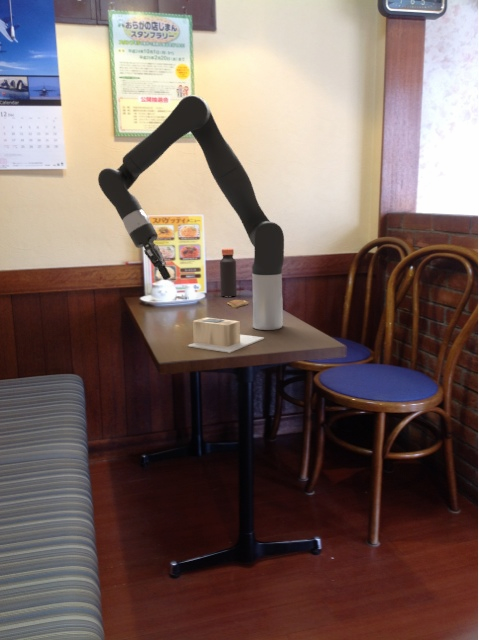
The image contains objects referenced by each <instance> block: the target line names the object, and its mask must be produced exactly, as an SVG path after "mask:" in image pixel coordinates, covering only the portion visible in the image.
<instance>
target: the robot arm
mask: <svg viewBox="0 0 479 640" xmlns="http://www.w3.org/2000/svg"><path fill="white" fill-rule="evenodd" d="M189 133H191V135H192V136H193V138H195V140H196V142H197V143H198V145H199V146H200V149H201V151H202V153H203V155H204V158H205V161H206V163H207V166H208V168H209V171H210V173H211V175H212V177H213V179H214V180H215V182H216V184H217V185H218V188H219V189H220V191H221V192H222V194H223V195H224V197H225V198H226V199H227V200H226V201H228V203H229V204H230V206H231V207H232V209H233V210H234V212H235V213H236V214H237V216H238V218H239V220H240V222H241V223H242V225H243V227H244V231H246V234H247V237H248V239H249V241H250V243H251V244H252V246H253V248H254V254H253V255H254V260H253V264H252V265H251V266H252V268H251V272H252V276H251V277H252V279H251V280H252V328H254V329H256V330H259V331H260V330H262V331H271V330H273V331H274V330H279V329H281V328H283V324H284V319H283V317H284V316H283V315H284V314H283V313H284V311H283V307H284V306H283V301H284V300H283V298H284V296H283V287H282V286H283V284H282V283H283V281H282V280H283V277H282V275H283V265H284V260H285V259H284V257H285V255H284V254H285V251H284V250H285V237H284V236H285V235H284V232H283V231H284V230H283V229H282V227H281V226H280V225H279V224H278V223H276V222H273V221H270V220H269V218H268V216H266V214H265V212H264V211H263V209H262V207H261V205H260V204H259V202H258V200H257V196H256V193H255V190H254V187H253V183H252V182H251V179H250V177H249V174H248V173H247V172H246V170H245V167H244V166H243V165H242V163H241V161H240V159H239V158H238V156H237V155H236V153H235V152H234V151H233V149H232V148H231V146H230V144H229V143H228V142H227V140H226V139H225V137H224V136H223V135H222V132H221V130H220V129H219V127H218V125H217V123H216V121H215V119H214V116H213V114H212V112H211V109H210V106H209V104H208V103H207V101H206V100H205V99H204V98H202V97H201V96H198V95H186V96H184V97H183V98H182V99H180V100H179V102H178V104H176V106H175V107H174V108H173V110H172V111H171V112H170V113H169V115H168V116H167V117H166V118H165V119H164V121H163V122H162V123H160V125H158V127H157V128H156V129H154V130H153V131H152V132H151V133H149V135H147V136H146V137H145V138H143V139H142V140H141V141H139V143H137V144H136V145H134V146H133V148H131V149H130V151H128V152H127V153H126V154H125V155H123V157H122V164H121V165H120V166H119V167H118V168H117V169H116V168H111V167H107V168H106V167H105V168H103V169H102V170H101V171H100V172H99V173H98V177H97V181H98V185H99V187H100V190H101V191H102V193H103V194H104V196H105V197H106V198H107V199H108V201H109V202H110V203H111V204H112V206H113V207H114V208H115V210H116V211H117V214H118V215H119V218H120V219H121V221H122V222H123V225H124V228H125V230H126V232H127V234H128V236H129V238H130V239H131V240H132V243H133V245H134V246H135V247H136V248H137V249H140V248H144V250H143V252H144V254H145V255H146V257H147V258H148V260H149V261H150V263H152V265H153V267H154V268H155V269H156V270H158V272H159V274H160V275H161V277H162V279H163V280H164V281H167V280H169V279H170V278H172V276H171V274H170V272H169V271H168V269H167V267H166V266H167V264H166V260H165V258H164V256H163V253H162V252H161V249H160V247H159V245H157V244H156V243H154V241H156V240H157V239H158V238H159V237H158V236H159V234H158V233H157V231H156V229H155V226H154V225H153V224H152V222H151V221H150V217H148V215H147V214H146V212H145V211H144V209H143V208H142V206H141V204H140V202H139V201H138V198H137V197H136V196H135V195H134V194H131V192H130V191H129V189H130V188H131V187H132V186H133V185H134V183H136V181H137V180H138V178H139V177H140V175H142V174H143V173H144V172H145V171H147V170H148V169H149V168H150V167H151V166H152V165H153V164H155V162H156V161H157V160H159V159H160V158H161V157H162V156H163V155H164V154H165V152H167V150H168V149H169V148H170V147H171V146H172V145H174V144H175V143H176V142H177V141H178V140H179V139H181V138H183V137H184V136H186V135H187V134H189Z"/></svg>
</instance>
